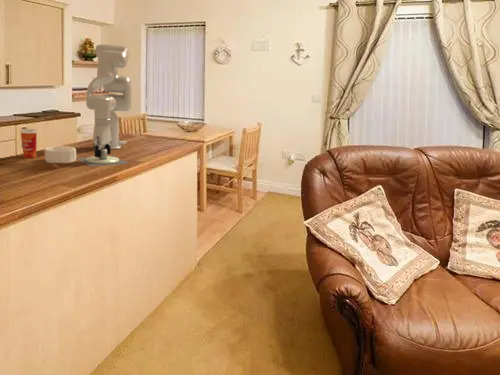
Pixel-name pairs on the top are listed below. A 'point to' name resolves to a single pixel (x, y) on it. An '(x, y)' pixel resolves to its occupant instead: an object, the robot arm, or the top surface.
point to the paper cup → (29, 142)
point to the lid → (102, 158)
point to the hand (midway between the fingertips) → (102, 155)
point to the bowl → (60, 154)
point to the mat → (101, 164)
